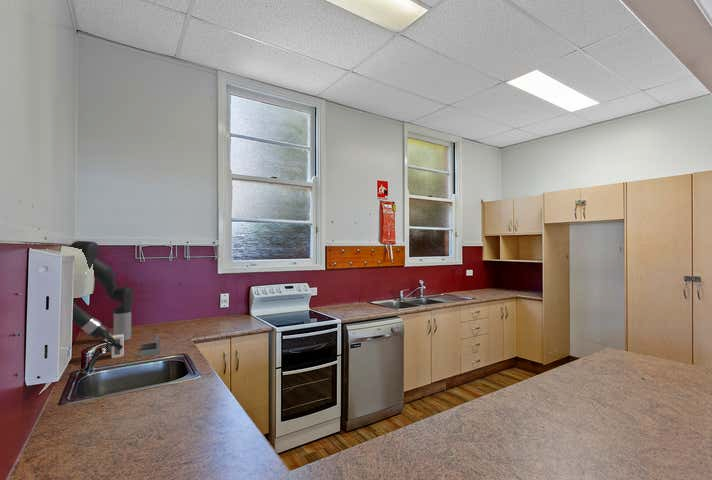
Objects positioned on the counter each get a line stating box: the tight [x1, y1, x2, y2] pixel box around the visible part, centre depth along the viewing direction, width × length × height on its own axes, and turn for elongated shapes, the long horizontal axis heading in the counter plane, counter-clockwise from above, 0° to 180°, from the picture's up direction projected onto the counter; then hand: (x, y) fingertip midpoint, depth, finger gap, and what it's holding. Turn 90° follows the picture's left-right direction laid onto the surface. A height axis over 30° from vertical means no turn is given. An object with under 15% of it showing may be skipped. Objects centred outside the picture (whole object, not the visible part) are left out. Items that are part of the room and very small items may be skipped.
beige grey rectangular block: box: [111, 334, 125, 359], centre depth 188 cm, size 5×5×11 cm
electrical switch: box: [99, 337, 112, 353], centre depth 197 cm, size 9×5×9 cm, turn 57°
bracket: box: [139, 332, 161, 358], centre depth 196 cm, size 14×9×8 cm, turn 31°
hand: (121, 346), depth 189 cm, fingers closed on beige grey rectangular block, 5 cm apart
